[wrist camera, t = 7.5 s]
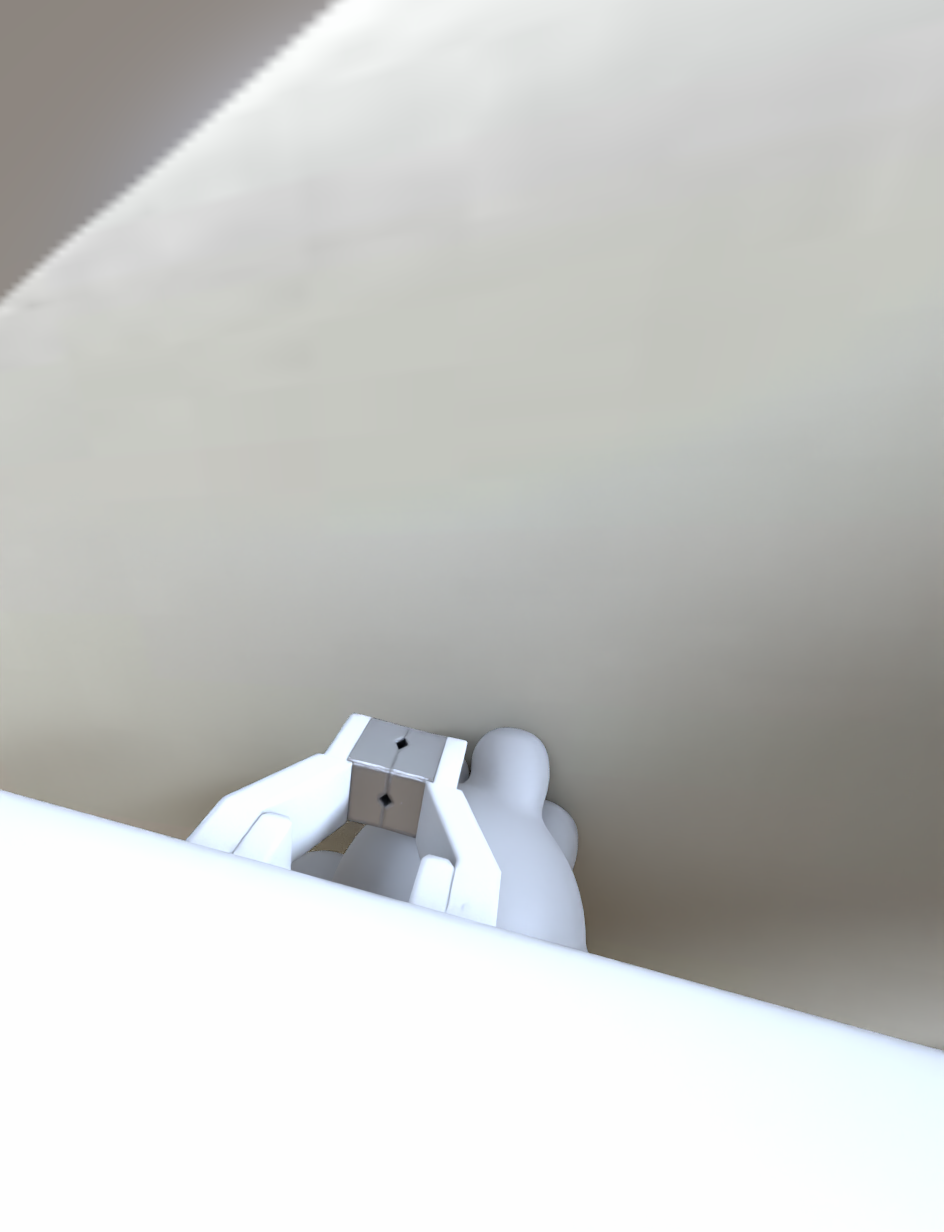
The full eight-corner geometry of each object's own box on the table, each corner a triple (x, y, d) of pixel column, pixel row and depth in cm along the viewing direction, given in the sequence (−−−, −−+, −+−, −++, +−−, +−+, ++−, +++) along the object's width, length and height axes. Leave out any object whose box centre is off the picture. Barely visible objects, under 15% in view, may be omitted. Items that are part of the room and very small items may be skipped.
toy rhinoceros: (255, 746, 18) (35, 991, 10) (550, 693, 15) (554, 988, 7) (328, 871, 20) (195, 1145, 13) (595, 848, 17) (633, 1191, 10)
